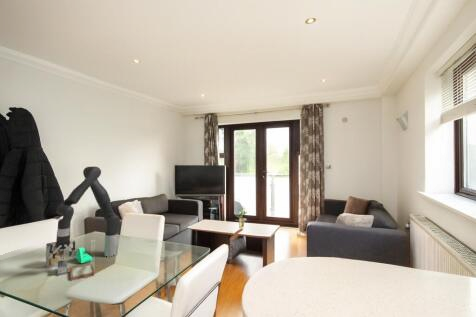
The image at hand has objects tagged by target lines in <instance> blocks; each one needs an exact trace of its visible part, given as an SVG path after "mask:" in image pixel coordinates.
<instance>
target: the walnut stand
mask: <svg viewBox="0 0 476 317" xmlns="http://www.w3.org/2000/svg"><path fill="white" fill-rule="evenodd" d="M69 274H70V281H71V282H72V281H76V280H80V279H85V278H90V277H93V276H95V271H94V267H93V264H88V265H84V266H83V265H82V266H77V267H73V268H70V269H69Z"/></svg>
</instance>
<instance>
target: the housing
mask: <svg viewBox="0 0 476 317" xmlns="http://www.w3.org/2000/svg"><path fill="white" fill-rule="evenodd" d="M67 271H68V260H67V259H64V261H58V266H57V277H59V276H63V275H67V274H68V272H67Z"/></svg>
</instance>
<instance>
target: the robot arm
mask: <svg viewBox="0 0 476 317" xmlns="http://www.w3.org/2000/svg"><path fill="white" fill-rule="evenodd" d="M82 174H83V177H84V180H83V181H82V182H81V183H80V184H79V185H77V186H75V188H73V190H72V191H71V192H70V194H68V197H67V198H65V199H64V200H63V201H62V202H61V203H60V204H59V205H58V206H57V207H56V211H55V212H56V215H59V216H62V218H60V219H59V220H58V222H57V231H56V241H55V242H56V244H52V242H50V243H51V244H50V251H49V253H52V254H53V258H54V259H55V253H56V251H58V249H60V250H61V249H64V250H66V249H67V250H68V251H69V253H68V257H71V256H72V255H73V254H72V253H73V251H75V250H76V241H75V240H72V241H71V221H72V219H73V216H74V212H75V210H74V207H73V206H72V205H76V204H78V203H79V201H80V200H81V199H82V197H83V196H84V194H86V192H87V190H88V189H89V188H90V189H91V192H92V194H93V196H94V198H95V201H96V204H98V207H99V209H100V211H101V212H102V215H103V219H104V222H105V224H107V225H106V230H105V233H104V251H103V255H104V257H106V256H107V257H106V258H111V256H112V257H114V256H113V255H115V254H117V255H118V250H119V243H118V242H119V240H118V238H119V230H120V224H121V222H120V219H121V218H120V217H119V215H117V214H116V213H115V211H114V210H113V207H112V204H111V199H110V196H109V193H108V191H107V190H106V188H105V187H104V186H103V185H102V184H101V182H100V181H99V177H101V174H102V169H101V168H100V167H98V166H86V167H85V168H84V169H83V173H82ZM70 245H72V247H70ZM54 246H56V248H55V250H54V251H52V247H54ZM115 256H116V255H115Z"/></svg>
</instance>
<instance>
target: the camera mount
mask: <svg viewBox="0 0 476 317" xmlns="http://www.w3.org/2000/svg"><path fill="white" fill-rule="evenodd" d="M75 259H76V261H77V262H78V264H79V263H80V264H84V263H88V262H91V261H93V257H92V256H91V255H90V254H88V253H87V252H86V249H85V246H84V247H83V246H82V247H79V248H77V250H76V253H75Z"/></svg>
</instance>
